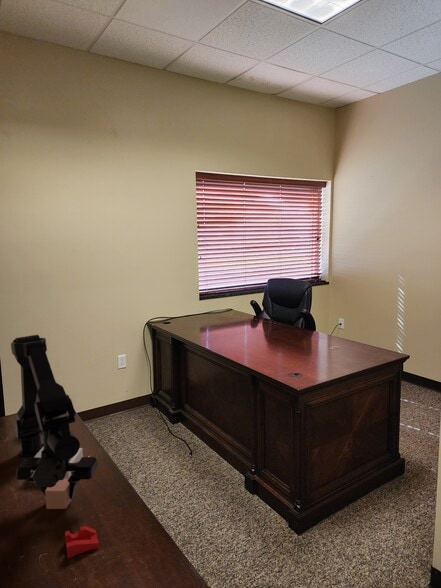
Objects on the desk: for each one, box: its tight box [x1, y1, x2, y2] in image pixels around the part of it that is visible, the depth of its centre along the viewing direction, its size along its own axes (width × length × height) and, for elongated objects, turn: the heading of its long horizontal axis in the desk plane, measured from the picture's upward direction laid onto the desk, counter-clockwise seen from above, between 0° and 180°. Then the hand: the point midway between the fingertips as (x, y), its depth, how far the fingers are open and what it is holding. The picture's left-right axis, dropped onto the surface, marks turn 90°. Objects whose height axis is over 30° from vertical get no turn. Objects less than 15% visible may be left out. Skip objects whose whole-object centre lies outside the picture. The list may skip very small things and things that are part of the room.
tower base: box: [34, 447, 84, 479], centre depth 115 cm, size 11×11×6 cm
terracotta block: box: [44, 479, 73, 510], centre depth 100 cm, size 5×5×5 cm
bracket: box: [64, 525, 100, 559], centre depth 86 cm, size 6×5×3 cm
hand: (60, 498), depth 100 cm, fingers open, 6 cm apart
